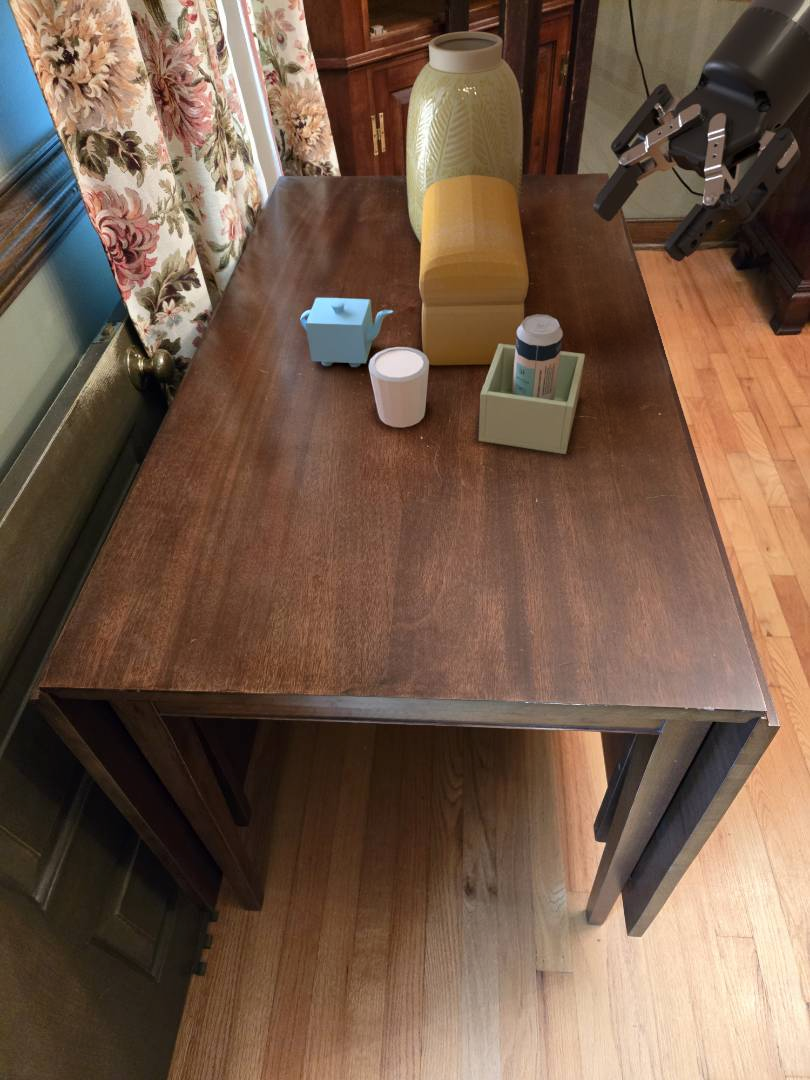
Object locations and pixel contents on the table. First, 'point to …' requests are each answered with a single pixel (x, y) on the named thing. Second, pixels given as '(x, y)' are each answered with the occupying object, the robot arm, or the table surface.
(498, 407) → the bin
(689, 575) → the table surface
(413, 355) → the white cup
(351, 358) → the teapot
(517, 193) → the vase
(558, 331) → the beer can
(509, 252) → the bread
